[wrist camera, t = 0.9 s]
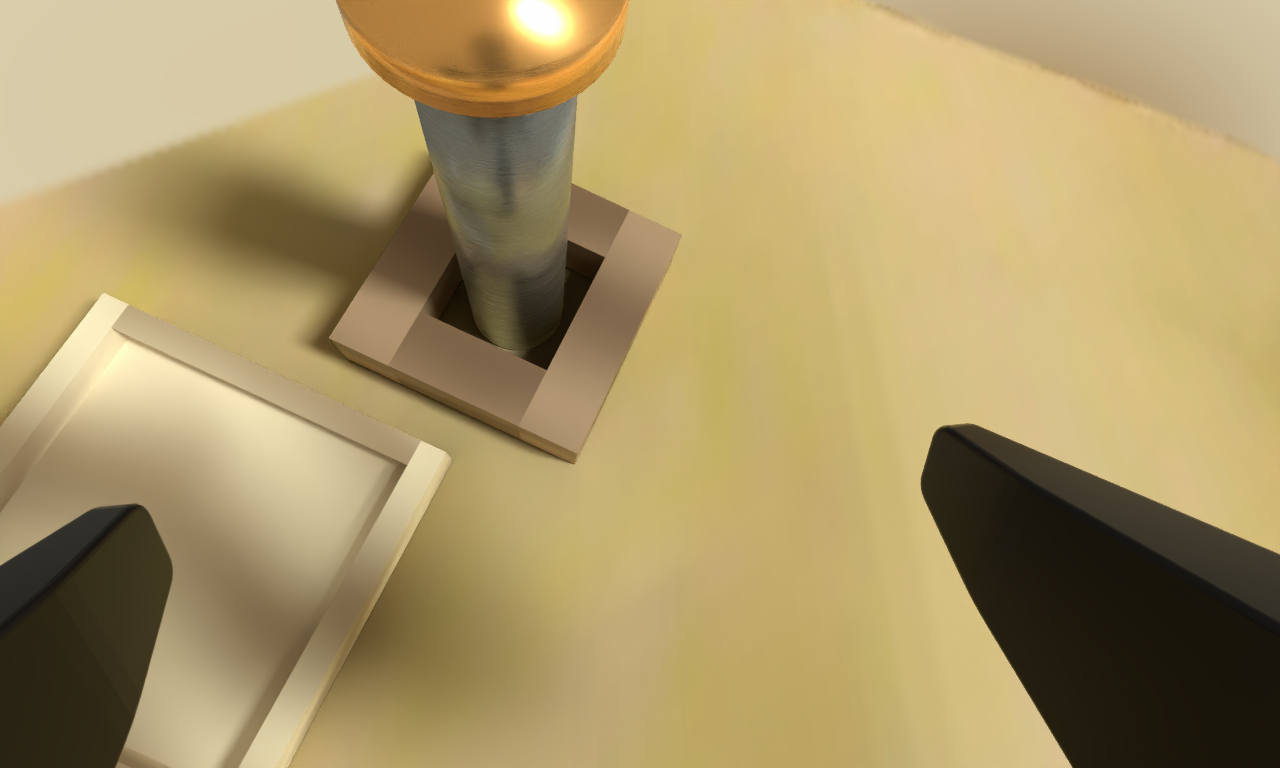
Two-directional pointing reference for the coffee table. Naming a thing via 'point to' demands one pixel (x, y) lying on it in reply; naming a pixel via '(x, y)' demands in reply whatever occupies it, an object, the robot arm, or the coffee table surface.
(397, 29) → the pin
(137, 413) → the tray
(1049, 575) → the robot arm
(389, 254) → the block
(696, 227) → the coffee table surface
